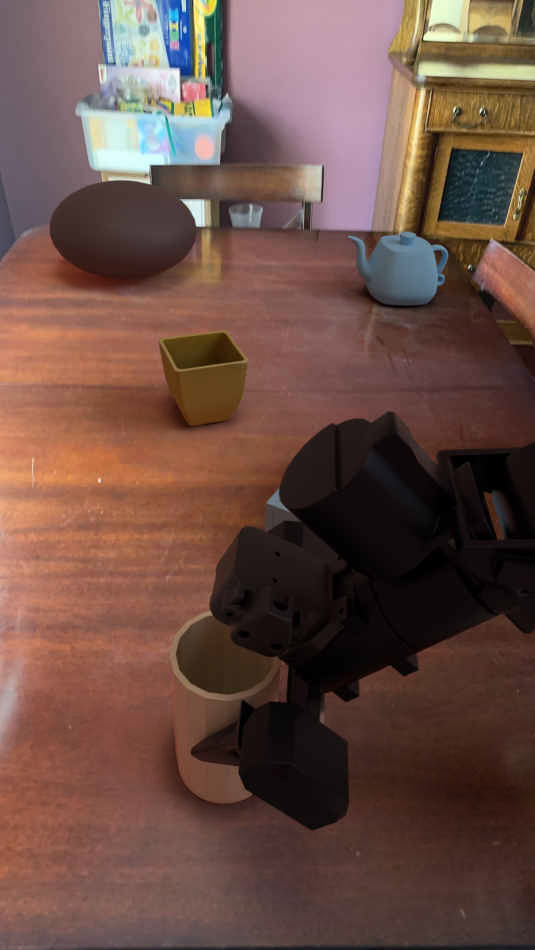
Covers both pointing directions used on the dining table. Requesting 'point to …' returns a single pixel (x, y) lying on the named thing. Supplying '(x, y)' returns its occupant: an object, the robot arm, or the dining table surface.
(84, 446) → the dining table surface
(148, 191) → the smooth stone
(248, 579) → the robot arm
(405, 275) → the teapot
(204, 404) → the flower pot
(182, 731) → the tumbler
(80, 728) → the dining table surface
